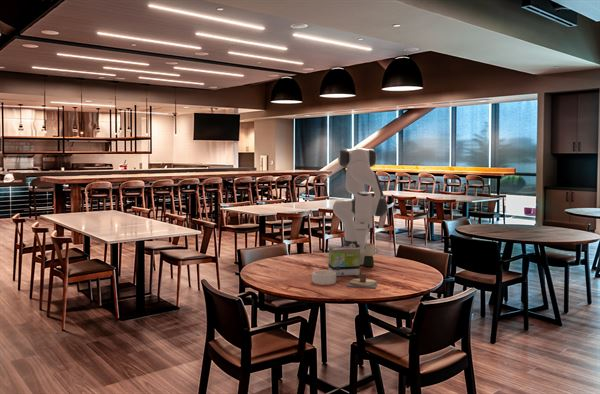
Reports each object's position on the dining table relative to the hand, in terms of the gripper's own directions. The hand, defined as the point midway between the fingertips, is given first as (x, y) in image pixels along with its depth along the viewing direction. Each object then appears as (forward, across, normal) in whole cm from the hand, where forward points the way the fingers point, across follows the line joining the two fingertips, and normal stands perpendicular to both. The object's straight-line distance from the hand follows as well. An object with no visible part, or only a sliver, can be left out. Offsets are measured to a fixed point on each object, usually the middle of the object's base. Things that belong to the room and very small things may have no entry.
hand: (363, 251), depth 258 cm
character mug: (+17, -43, -2) cm, 47 cm away
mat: (+17, 0, 0) cm, 17 cm away
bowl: (+17, 0, -20) cm, 26 cm away
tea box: (+17, -20, -13) cm, 30 cm away
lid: (+16, 0, 0) cm, 16 cm away
